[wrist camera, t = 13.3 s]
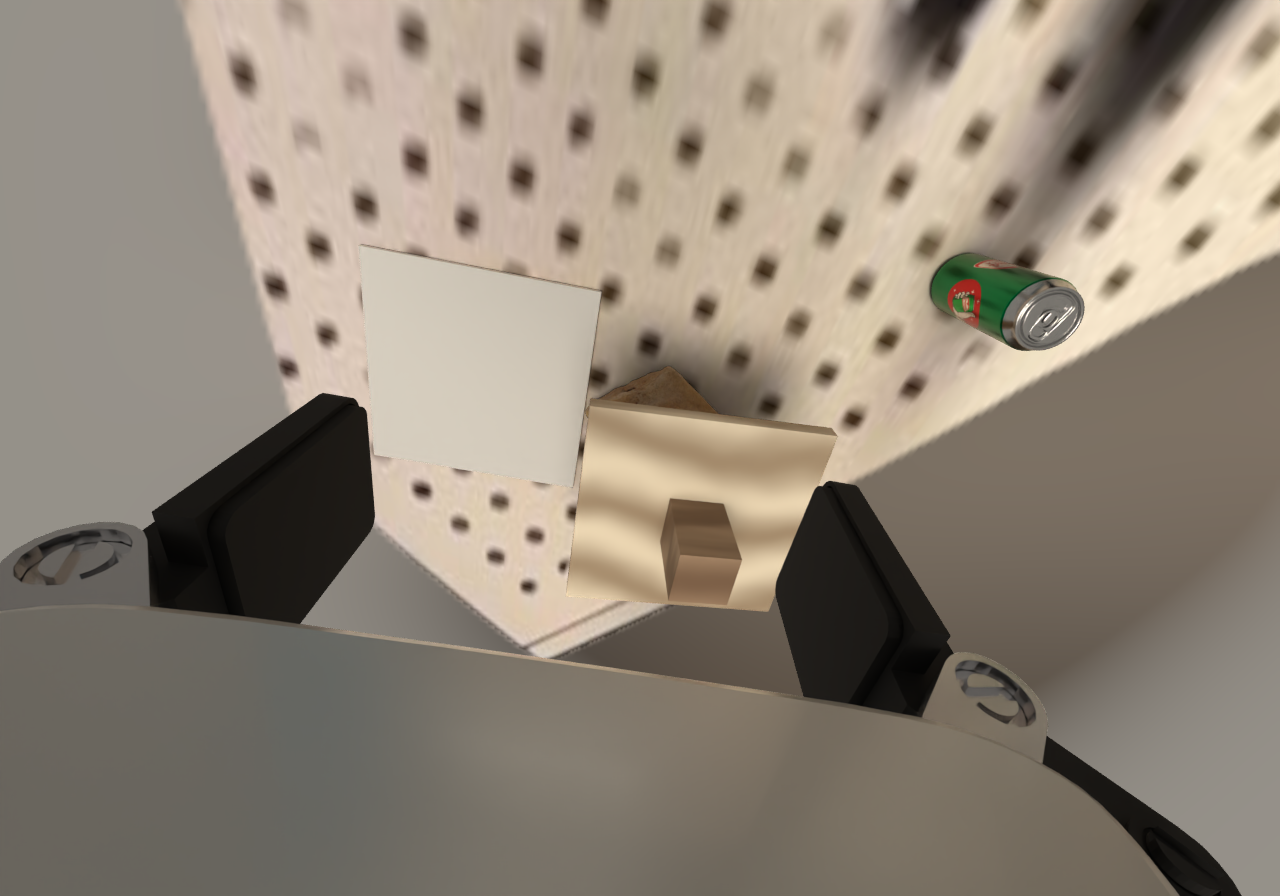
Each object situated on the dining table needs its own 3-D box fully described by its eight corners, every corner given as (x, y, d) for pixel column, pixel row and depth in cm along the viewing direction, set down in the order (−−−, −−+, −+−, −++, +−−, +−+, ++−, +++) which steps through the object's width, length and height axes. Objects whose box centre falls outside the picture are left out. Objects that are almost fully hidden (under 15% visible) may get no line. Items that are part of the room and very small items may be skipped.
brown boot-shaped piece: (769, 441, 53) (806, 532, 40) (677, 501, 57) (684, 602, 44) (678, 328, 48) (687, 392, 35) (583, 403, 52) (560, 486, 39)
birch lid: (590, 398, 34) (587, 453, 28) (831, 428, 37) (877, 485, 30) (566, 585, 43) (560, 660, 36) (764, 600, 45) (789, 673, 39)
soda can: (1002, 267, 45) (1109, 300, 34) (962, 320, 47) (1050, 367, 36) (954, 242, 44) (1048, 267, 33) (915, 297, 46) (992, 338, 36)
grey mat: (361, 244, 45) (358, 245, 44) (601, 290, 46) (601, 292, 46) (376, 451, 55) (374, 454, 55) (573, 484, 56) (572, 487, 56)
